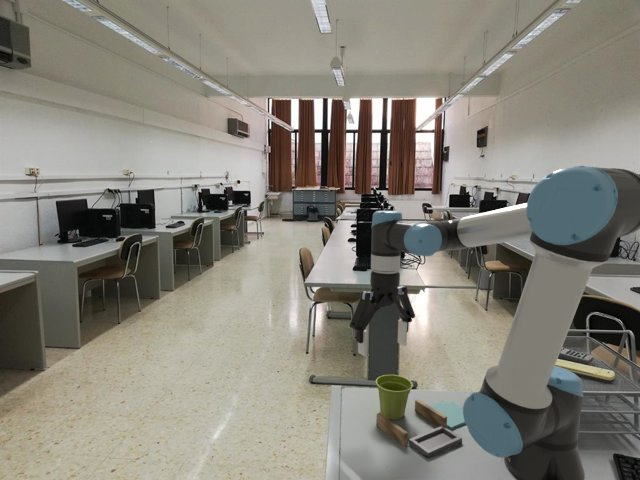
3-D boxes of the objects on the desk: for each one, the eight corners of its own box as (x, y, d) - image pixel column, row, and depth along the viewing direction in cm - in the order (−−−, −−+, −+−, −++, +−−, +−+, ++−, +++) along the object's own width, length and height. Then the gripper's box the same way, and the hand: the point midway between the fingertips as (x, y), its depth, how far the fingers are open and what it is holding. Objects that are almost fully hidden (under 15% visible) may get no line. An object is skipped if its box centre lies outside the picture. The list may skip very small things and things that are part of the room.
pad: (478, 418, 110) (478, 416, 110) (451, 429, 105) (451, 427, 105) (447, 401, 119) (447, 399, 119) (421, 411, 113) (421, 409, 113)
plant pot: (415, 423, 108) (417, 391, 106) (378, 424, 107) (379, 391, 106) (405, 404, 117) (407, 374, 116) (371, 404, 116) (372, 374, 115)
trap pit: (462, 442, 100) (462, 437, 100) (428, 458, 94) (428, 453, 94) (442, 430, 105) (442, 425, 105) (408, 443, 99) (409, 439, 99)
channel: (446, 428, 106) (447, 416, 105) (404, 445, 98) (404, 433, 98) (417, 409, 114) (417, 399, 114) (376, 425, 107) (376, 413, 106)
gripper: (410, 263, 121) (407, 336, 124) (337, 272, 108) (335, 353, 111) (430, 268, 114) (426, 344, 117) (354, 278, 101) (352, 364, 104)
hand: (382, 349), depth 114 cm, fingers open, 13 cm apart
